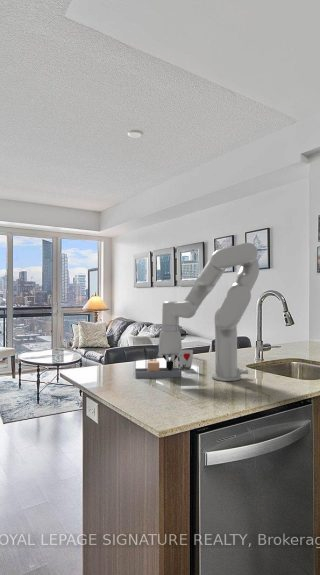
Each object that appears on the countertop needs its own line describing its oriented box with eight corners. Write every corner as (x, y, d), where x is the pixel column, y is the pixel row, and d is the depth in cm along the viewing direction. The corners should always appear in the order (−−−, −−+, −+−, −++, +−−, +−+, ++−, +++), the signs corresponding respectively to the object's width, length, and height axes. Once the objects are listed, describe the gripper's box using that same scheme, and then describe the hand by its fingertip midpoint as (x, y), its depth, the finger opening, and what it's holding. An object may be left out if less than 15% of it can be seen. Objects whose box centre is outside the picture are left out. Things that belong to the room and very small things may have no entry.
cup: (174, 372, 180) (174, 351, 180) (178, 369, 188) (178, 349, 188) (191, 373, 177) (190, 352, 178) (194, 370, 185) (194, 349, 185)
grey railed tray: (179, 375, 173) (178, 367, 173) (181, 379, 164) (181, 371, 164) (135, 376, 171) (135, 368, 171) (135, 380, 162) (135, 372, 163)
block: (158, 374, 170) (158, 360, 170) (159, 376, 165) (159, 362, 165) (147, 374, 170) (147, 361, 170) (148, 376, 165) (147, 363, 165)
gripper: (185, 328, 173) (185, 368, 172) (153, 327, 172) (152, 368, 171) (188, 329, 165) (187, 371, 165) (154, 329, 164) (153, 371, 164)
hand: (169, 369), depth 168 cm, fingers closed
